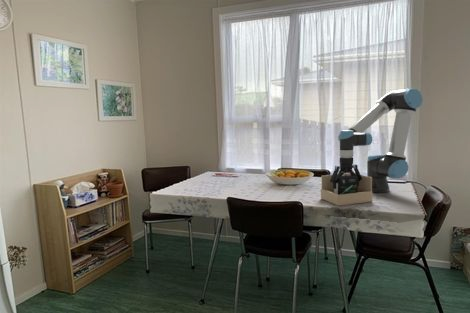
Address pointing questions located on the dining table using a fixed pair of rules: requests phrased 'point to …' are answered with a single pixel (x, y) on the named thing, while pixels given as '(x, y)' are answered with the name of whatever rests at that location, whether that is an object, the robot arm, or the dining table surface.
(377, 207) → the dining table surface
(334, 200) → the carton
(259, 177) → the dining table surface
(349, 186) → the tampon box
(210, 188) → the dining table surface
